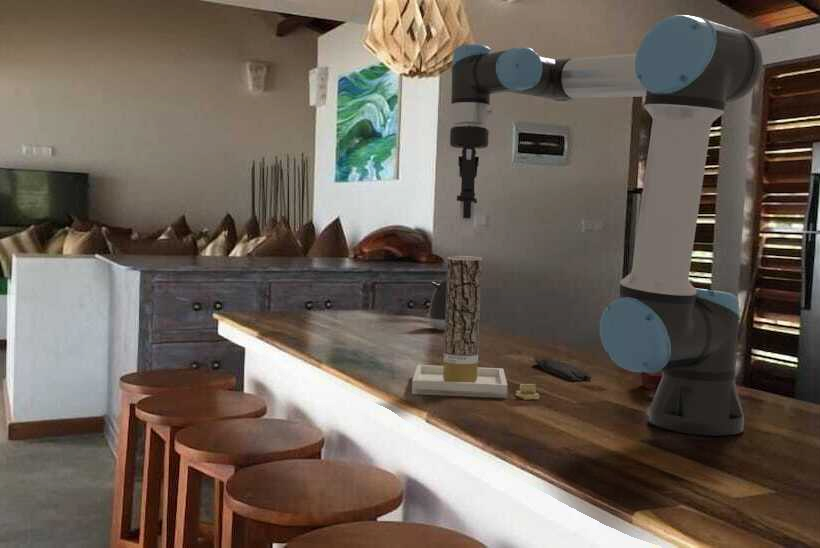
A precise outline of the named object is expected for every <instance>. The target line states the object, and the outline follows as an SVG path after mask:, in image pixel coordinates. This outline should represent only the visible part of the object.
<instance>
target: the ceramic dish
mask: <svg viewBox="0 0 820 548" xmlns="http://www.w3.org/2000/svg"><path fill="white" fill-rule="evenodd" d="M443 368H444V365H432V364H431V365H430V364H417V365H416V368H415V371H414V374H413V378H412V380H411V395H427V396H428V395H430V396H431V395H432V396H448V397H449V396H451V397H470V398H471V397H473V398H493V399H495V398H496V399H508V382H507V381H508V380H507V377H506V374H505V370H504V368H502V367H501V368H500V367H499V368H498V367H479V366H477V380H476V382H475V383H470V382H448V381H445V380H444V379H443Z"/></svg>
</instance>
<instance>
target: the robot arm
mask: <svg viewBox="0 0 820 548" xmlns="http://www.w3.org/2000/svg"><path fill="white" fill-rule="evenodd" d="M451 65H452V66H451V94H450V95H451V96H450V97H451V101H450V102H451V103H450V117H449V119H450V122H449V123H450V125H451V126H452V127H451V128H450V129H449V130H450V132H449V145H450V147H451V148H454V149H461V155H460V156H458V161H457V162H458V168H459V172H458V173H459V177H460V178H461V188H460V191H461V192H460V193H459V194H460V195H457V196H456V201H457V202H459V225H458V226H459V227H458V230H459V231H458V237H474V227H475V226H474V225H475V204H477V202H478V201H477V200H478V198H475V196H476V193H475V182H476V181H475V180H476V178H477V175H478V167H479V162H480V161H479V159H480V157H479V156H476V154H477V150H476V149H479V150H480V149H486V148H487V147H488V146H489V137H490V135H489V134H490V133H489V132H490V130H488V129H489V128H487V126H489V123H490V121H489V119H490V117H489V116H492V115H493V110H490V104H491V103H490V102H491V101H490V99H491V97H490V96H491V95H494V94H501V93H513V94H519V95H525V96H530V97H531V96H532V97H538V98H544V99H548V100H549V99H550V100H553V101H557V102H570V101H574V100H576V99H588V98H589V99H591V98H592V99H593V98H594V99H596V98H629V97H631V98H633V97H634V98H635V97H637V98H638V97H639V98H640V97H645V98H644V109H645V111H647V112H648V114H649V115H650V117H651V118H652V123H651V130H650V138H649V145H648V152H647V159H646V166H645V173H644V179H643V180H644V181H643V187H642V188H643V190H642V194H641V195H642V196H641V202H640V211H639V217H638V218H639V219H638V225H637V233H636V239H635V246H634V247H635V248H634V253H633V261H632V267H631V272H630V273H629V274H627V276H625V277H624V278H622V279H621V280H620V283H619V289H618V297H617V299H615V300H613V301H612V302H610V303H609V305H608V306H606V307H605V308H604V310H603V312H602V314H601V317H600V320H599V336H600V341H601V343H602V346H603V349H604V350H605V352H607V353H608V355H609V358H610V359H611V361H613V363H615V364H616V365H617V366H618V367H620V368H622V369H624V370H626V371H629V372H630V373H631V372H632V373H641V372H645V373H654V372H658V371H660V370H663V372H662V379H661V381H660V384H659V386H658V389H657V391H655V394H654V397H653V399H652V402H651V405H650V407H649V414H648V415H649V417H648V419H649V420H648V421H649V423H650V424H652V425H654V426H656V427H658V428H661V429H665V430H668V431H672V432H676V433H682V434H689V435H695V436H696V435H697V436H711V437H712V436H713V437H714V436H717V437H718V436H719V437H720V436H732V435H733V436H735V435H737V434H741V433H743V431H744V426H745V425H744V424H745V423H744V422H745V415H744V413H743V412H744V411H743V409H742V404H741V401H740V396H739V393H738V390H737V387H736V369H737V368H736V367H737V353H738V341H739V340H738V338H739V337H738V335H739V325H740V324H739V323H740V318H741V316H740V302H739V298H738V297H737V296H736V295H735V294H734V293H731V292H725V291H720V290H714V289H713V290H712V289H711V290H710V289H706V288H705V289H704V288H696V287H694V286H693V285H692V283H691V282H690V280H689V276H690V271H691V263H692V257H693V256H692V255H693V249H694V242H695V238H696V237H695V235H696V230H697V222H698V216H699V208H700V201H701V196H702V189H703V183H704V175H705V169H706V168H705V167H706V162H707V155H708V149H709V141H710V135H711V129H712V125H713V122H715V121H716V120H717V119H718V118H720V117H721V116H722V115H723V114H724V113H725V107H726V106H725V105H726V104H730V103H734V102H736V101H739V100H741V99H743V98H745V97H746V96H747V95H748V94H750V93H751V92H752V90H753V89H754V88H755V87H756V85H758V82H759V81H760V78H761V76H762V72H763V67H764V66H763V65H764V63H763V55H762V51H761V49H760V47H759V44H758V43H757V42H756V40H755V39H754V38H753V37H752V36H751V35H749V34H748V33H746V32H744V31H743V30H741V29H738V28H735V27H729V26H727V25H724V24H722V23H721V24H720V23H718V22H714V21H711V20H708V19H706V18H705V17H702V16H693V15H686V14H685V15H684V14H675V15H673V16H669V17H666V18H664V19H662V20H660V21H659V22H657V23H656V24H655V25H654V26H653V27H652V29H650V30H648V31H647V33H645V35H644V37H643V38H642V39H641V41H640V43H639V46H638V48H637V50H636V53H622V54H614V55H613V54H612V55H598V56H597V55H596V56H586V57H573V58H559V59H558V58H557V59H556V58H549V57H543V56H541V55H539V54H538V53H537V52H535V50H533V48H531V47H526V46H525V47H511V48H508V49H507V50H506V49H505V50H500V51H496V52H492V51H491V48H490V47H489V46H487V45H482V44H463V45H459V46H457V47H455V49H454V50H453V55H452V63H451Z"/></svg>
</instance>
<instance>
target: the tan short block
mask: <svg viewBox="0 0 820 548" xmlns="http://www.w3.org/2000/svg"><path fill="white" fill-rule="evenodd" d="M536 390H537V384H536V383H520V384H519V390H515V396H516V397H518V398H520V399H522V400H528V401H529V400H531V399H532V400H533V399H534V400H540V394H539V393H537V391H536ZM532 400H531V401H532Z"/></svg>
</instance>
